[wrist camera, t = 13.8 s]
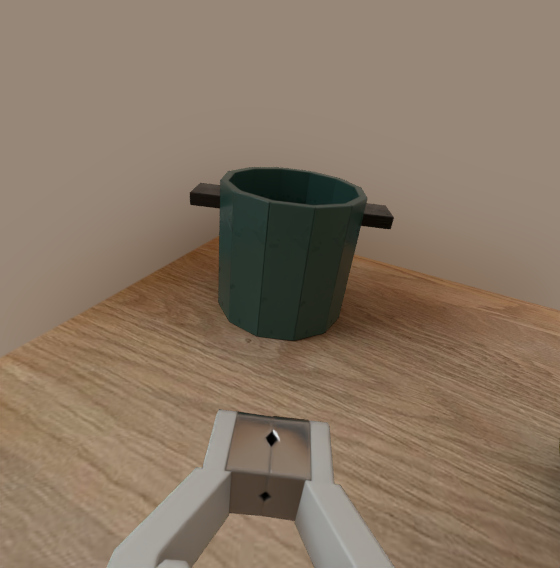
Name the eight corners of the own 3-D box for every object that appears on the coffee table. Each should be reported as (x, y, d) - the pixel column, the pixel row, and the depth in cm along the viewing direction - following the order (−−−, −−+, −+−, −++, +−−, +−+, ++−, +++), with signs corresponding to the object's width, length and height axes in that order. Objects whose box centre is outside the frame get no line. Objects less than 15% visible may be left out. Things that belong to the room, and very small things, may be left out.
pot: (178, 327, 27) (170, 190, 21) (210, 264, 36) (211, 158, 31) (371, 350, 27) (414, 220, 21) (354, 282, 36) (380, 179, 31)
